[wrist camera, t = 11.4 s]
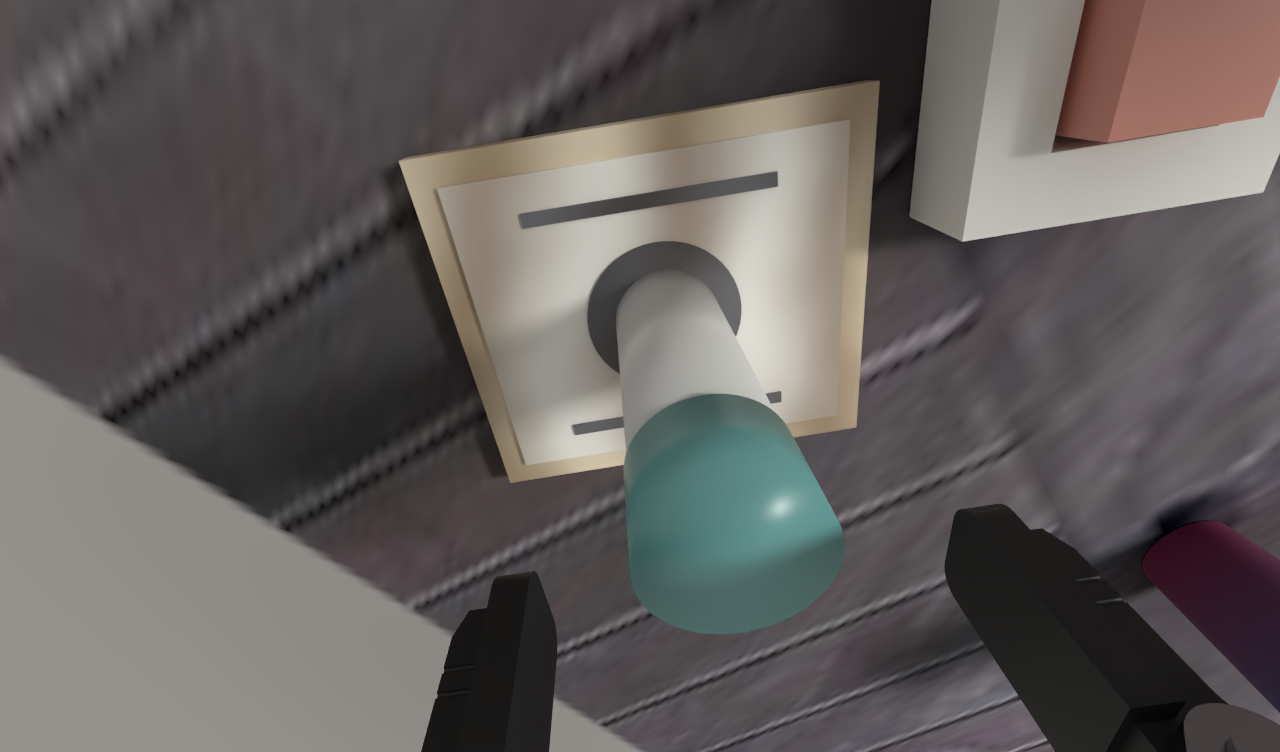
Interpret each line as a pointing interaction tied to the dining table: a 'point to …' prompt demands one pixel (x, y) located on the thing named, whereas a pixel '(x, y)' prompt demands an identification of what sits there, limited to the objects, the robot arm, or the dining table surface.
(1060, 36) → the button housing
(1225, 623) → the cup
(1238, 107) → the button
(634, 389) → the marker
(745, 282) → the paper board
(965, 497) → the dining table surface
